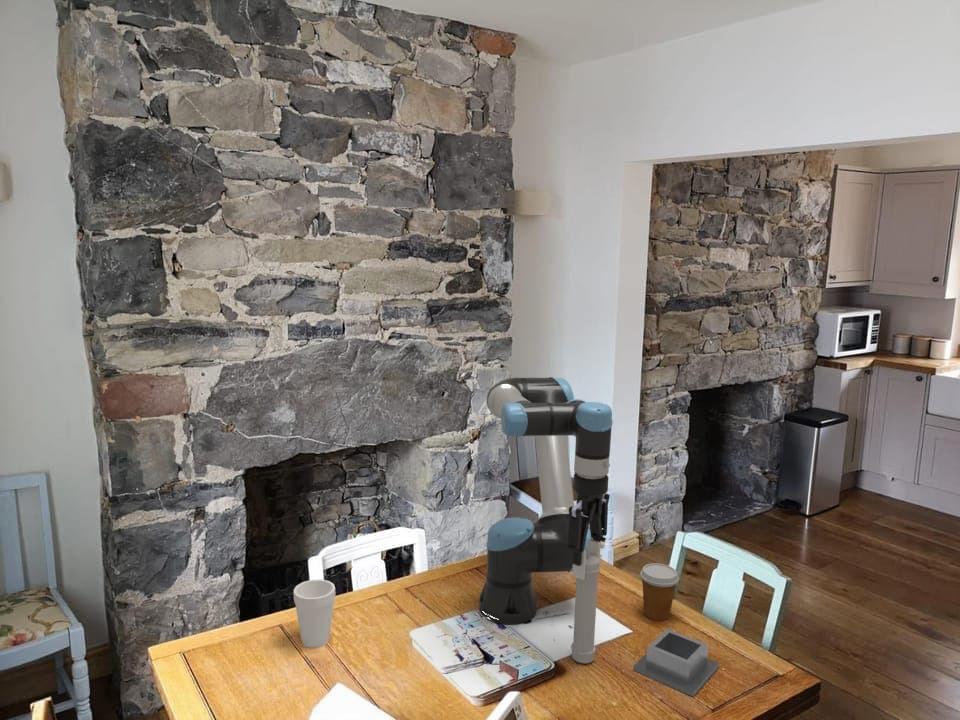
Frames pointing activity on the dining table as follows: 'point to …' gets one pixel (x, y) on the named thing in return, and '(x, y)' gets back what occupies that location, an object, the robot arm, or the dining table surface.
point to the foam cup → (314, 611)
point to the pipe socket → (677, 662)
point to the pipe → (585, 612)
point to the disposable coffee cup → (658, 590)
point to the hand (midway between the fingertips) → (585, 572)
